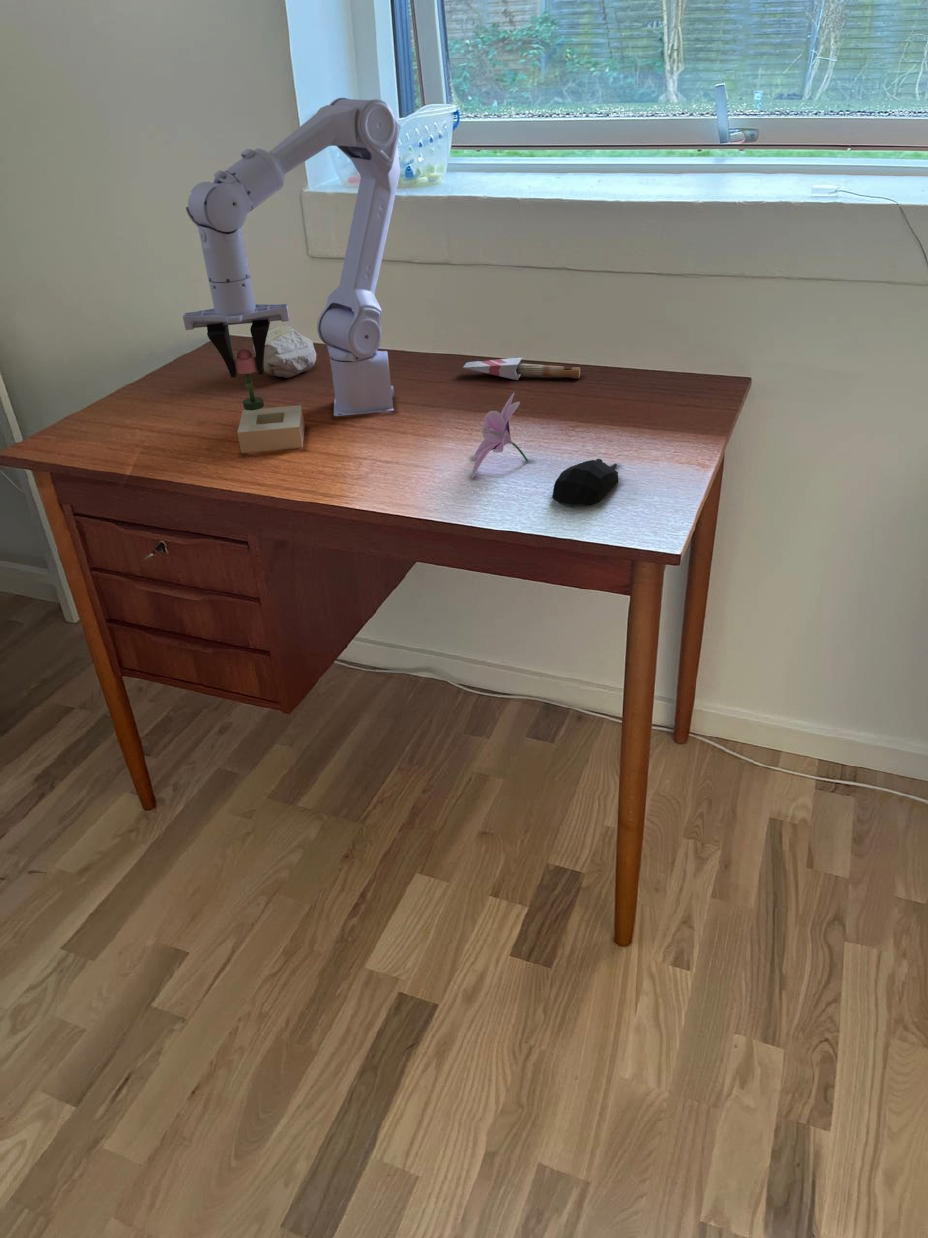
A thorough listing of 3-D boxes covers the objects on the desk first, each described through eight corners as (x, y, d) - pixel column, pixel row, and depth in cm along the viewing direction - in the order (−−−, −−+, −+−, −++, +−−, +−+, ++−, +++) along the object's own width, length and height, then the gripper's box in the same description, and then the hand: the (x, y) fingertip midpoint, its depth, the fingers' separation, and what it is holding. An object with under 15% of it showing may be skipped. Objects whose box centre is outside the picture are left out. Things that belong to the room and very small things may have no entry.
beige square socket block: (305, 428, 144) (301, 404, 142) (303, 450, 137) (299, 426, 135) (247, 433, 144) (242, 410, 142) (242, 456, 136) (237, 432, 134)
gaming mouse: (637, 470, 125) (638, 442, 123) (587, 515, 115) (588, 486, 112) (594, 461, 128) (595, 434, 126) (543, 505, 118) (542, 476, 115)
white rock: (329, 363, 171) (279, 367, 173) (320, 317, 167) (269, 322, 169) (306, 381, 160) (253, 385, 163) (296, 332, 156) (242, 337, 159)
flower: (266, 401, 139) (255, 344, 135) (264, 411, 136) (253, 353, 131) (243, 403, 139) (232, 346, 134) (241, 413, 136) (229, 355, 131)
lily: (495, 447, 136) (461, 397, 131) (564, 426, 130) (531, 373, 124) (473, 504, 130) (435, 454, 124) (544, 485, 123) (508, 432, 117)
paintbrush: (467, 352, 161) (581, 361, 156) (467, 368, 162) (580, 377, 158) (461, 359, 158) (578, 369, 153) (461, 375, 159) (577, 385, 155)
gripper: (172, 289, 124) (193, 387, 131) (280, 280, 125) (296, 378, 132) (179, 276, 130) (200, 371, 137) (283, 268, 131) (298, 362, 138)
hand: (247, 373), depth 135 cm, fingers closed on flower, 3 cm apart
